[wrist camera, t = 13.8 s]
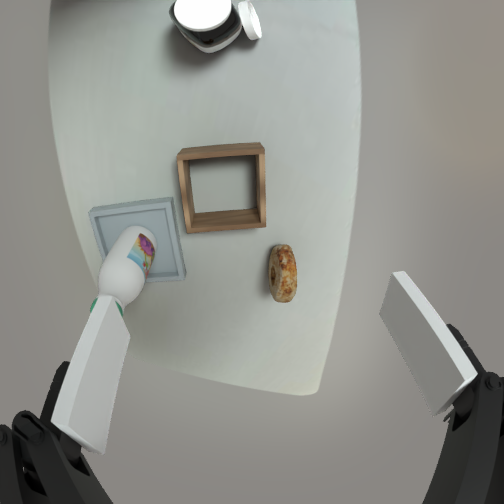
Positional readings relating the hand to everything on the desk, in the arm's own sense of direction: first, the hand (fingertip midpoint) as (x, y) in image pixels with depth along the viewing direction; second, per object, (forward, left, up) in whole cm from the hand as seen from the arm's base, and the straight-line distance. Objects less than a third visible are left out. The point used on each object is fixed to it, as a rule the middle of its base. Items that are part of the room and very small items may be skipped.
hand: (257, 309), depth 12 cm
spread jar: (-22, -1, -37) cm, 43 cm away
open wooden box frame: (+5, -2, -37) cm, 37 cm away
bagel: (+22, +7, -37) cm, 43 cm away
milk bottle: (+15, -19, -36) cm, 43 cm away
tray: (+15, -19, -37) cm, 44 cm away
